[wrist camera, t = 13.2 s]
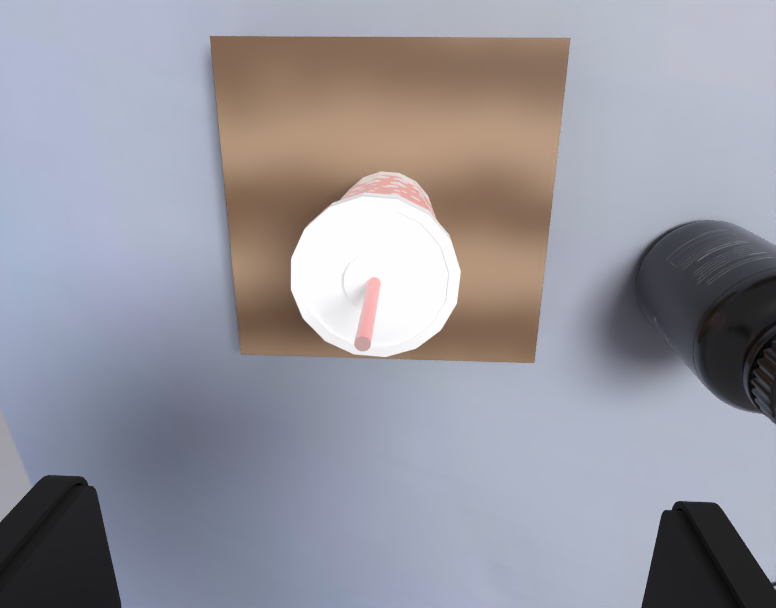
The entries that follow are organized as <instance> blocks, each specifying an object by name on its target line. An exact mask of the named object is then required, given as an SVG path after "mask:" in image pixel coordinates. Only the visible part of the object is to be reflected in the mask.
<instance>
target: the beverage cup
mask: <svg viewBox="0 0 776 608" xmlns="http://www.w3.org/2000/svg"><path fill="white" fill-rule="evenodd" d="M460 274H461V271H460V267H459V264H458V261H457V257H456V254H455V251H454V248H453V244H452V241H451V238H450V236H449V234H448V233H447V232H446V231H445V229H444V228H443V227H442V226H441V225H440V223H439V222H438V221H437V219H436V216H435V214H434V211H433V208H432V205H431V203H430V200H429V197H428V195H427V194H426V193H425V191H424V190H423V189H422V188H421V187H420V185H419V184H418V183H417V182H416V181H414V180H412V179H410V178H408V177H407V176H405V175H403V174H401V173H395V172H382V171H381V172H378V173H375V174H372V175H369V176H366V177H363V178H362V179H361V180H360V181H358V182H357V183H356V184H355V185H354V186H353V187H352V188H350V189H349V190H348V192H347V193H346V194H345V195H344V196H343V197H342V198H341V199H340V200H339V201H337V202H334V203H332V204H331V205H330V206H329V207H328V208H326V209H325V210H324V211H323V212H322V213H321V214H320V215H318V216H317V217H316V218H315V219H314V220H313V221H312V222H311V223H309V225H308V226H307V227H306V228H305V229H304V231H303V233H302V236H301V238H300V240H299V242H298V244H297V247H296V249H295V251H294V253H293V255H292V258H291V291H292V294H293V296H294V298H295V301H296V303H297V305H298V308H299V310H300V313H301V315H302V317H303V319H304V320H305V321H306V322H307V323H308V324H309V325H310V326H311V327H312V328H313V329H314V330H315V331H316V332H317V333H318V334H319V335H320V336H321V337H322V338H323V339H324V340H325V341H326V342H328V343H330V344H333V345H335V346H337V347H339V348H341V349H343V350H346V351H348V352H350V353H352V354H355V355H367V356H379V357H388V356H391V355H395V354H399V353H402V352H406V351H409V350H413V349H416V348H418V347H419V346H420V345H422V344H423V343H424V342H426V341H427V340H428V339H430V338H431V337H432V336H434V335H435V334H436V333H438V332H439V331H440V330H441V329H442V328H443V326H444V324H445V323H446V321H447V319H448V317H449V316H450V314H451V312H452V311H453V309H454V307H455V306H456V304H457V298H458V290H459V282H460Z"/></svg>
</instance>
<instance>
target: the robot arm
mask: <svg viewBox="0 0 776 608" xmlns="http://www.w3.org/2000/svg"><path fill="white" fill-rule="evenodd" d="M0 608H121V600H120V596H119V591H118V587H117V582H116V578H115V573H114V569H113V564H112V560H111V555H110V551H109V546H108V542H107V537H106V532H105V528H104V523H103V519H102V514H101V510H100V505H99V501H98V496H97V492H96V489H95V488H94V487H93V486H88V483H87V481H86V480H85V479H84V478H83V477H80V476H57V475H48V476H45V477H43V478H42V479H41V480H39V481H38V482H37V483H36V484H35V486H34V487H33V488H32V489H31V490H30V491H29V492H28V493H27V494H26V495H25V496H24V497H23V499H22V500H21V501H20V502H19V503H18V504H17V505H16V506H15V507H14V508H13V509H12V510H11V511H10V513H9V514H8V515H7V516H6V517H5V518H4V519H3V520H2V521H1V522H0ZM641 608H776V585H775V586H773V585H772V584H771V582H770V581H769V579H768V578H767V576H766V575H765V573H764V572H763V570H762V569H761V567H760V566H759V564H758V563H757V561H756V560H755V558H754V557H753V555H752V554H751V552H750V551H749V549H748V548H747V546H746V545H745V543H744V542H743V540H742V539H741V537H740V536H739V534H738V533H737V531H736V530H735V528H734V527H733V525H732V524H731V522H730V520H729V519H728V517H727V516H726V514H725V513H724V511H723V510H722V509H721V508H720V506H719V505H718V504H716V503H711V502H687V501H678V502H676V503H675V504H674V505H673V508H672V510H665V511H664V512H663V513H662V516H661V520H660V524H659V529H658V534H657V538H656V543H655V547H654V552H653V557H652V561H651V566H650V571H649V575H648V580H647V584H646V589H645V594H644V598H643V603H642V607H641Z"/></svg>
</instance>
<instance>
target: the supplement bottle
mask: <svg viewBox="0 0 776 608" xmlns="http://www.w3.org/2000/svg"><path fill="white" fill-rule="evenodd" d="M636 294H637V300H638V303H639V306H640V308H641V310H642V312H643V314H644V315H645V317H646V318H647V320H648V321H649V322H650V323H651V325H652V326H653V327H654V328H655V329H656V331H657V332H658V333H659V334H660V335H661V336H662V337H663V339H664V340H665V341H666V342H667V343H668V344H669V345H670V347H671V348H672V349H673V350H674V351H675V352H676V353H677V355H678V356H679V357H680V358H681V359H682V360H683V361H684V363H685V364H686V365H687V366H688V367H689V368H690V369H691V371H692V372H693V373H694V374H695V375H696V376H697V377H698V379H699V380H700V381H701V382H702V383H703V384H704V385H705V387H706V388H707V389H708V390H709V391H711V392H712V393H713V394H714V395H715V396H716V397H717V398H718V399H720V400H721V401H723V402H724V403H726V404H728V405H730V406H732V407H735V408H737V409H740V410H743V411H747V412H752V413H759V414H764V415H765V416H767V417H768V418H769V419H770V420H771V421H772V422H773V423H775V424H776V245H774V244H772V243H770V242H768V241H766V240H765V239H763V238H761V237H759V236H757V235H755V234H753V233H751V232H749V231H747V230H745V229H743V228H741V227H739V226H737V225H734V224H731V223H728V222H723V221H714V220H712V221H699V222H694V223H690V224H687V225H684V226H682V227H679V228H677V229H675V230H673V231H672V232H670V233H668V234H667V235H666V236H664V237H663V238H662V239H661V240H659V241H658V242H657V243H656V244H655V245H654V246H653V247H652V249H651V250H650V251H649V252H648V254H647V255H646V257H645V258H644V260H643V262H642V264H641V266H640V269H639V272H638V276H637V282H636Z"/></svg>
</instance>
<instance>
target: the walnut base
mask: <svg viewBox="0 0 776 608" xmlns="http://www.w3.org/2000/svg"><path fill="white" fill-rule="evenodd" d="M210 42H211V52H212V62H213V73H214V83H215V93H216V104H217V114H218V124H219V134H220V145H221V155H222V165H223V175H224V186H225V196H226V206H227V216H228V227H229V237H230V247H231V257H232V268H233V278H234V288H235V299H236V309H237V319H238V329H239V340H240V350H241V354H250V355H283V356H316V357H350V358H383V359H416V360H450V361H483V362H517V363H534V361H535V352H536V343H537V334H538V325H539V316H540V307H541V298H542V289H543V280H544V271H545V262H546V253H547V244H548V235H549V226H550V217H551V208H552V199H553V190H554V181H555V172H556V163H557V154H558V145H559V136H560V127H561V118H562V109H563V100H564V91H565V82H566V73H567V64H568V55H569V46H570V38H463V37H260V36H210ZM381 171H382V172H395V173H401V174H403V175H405V176H407V177H408V178H410V179H412V180H414V181H416V182H417V183H418V184H419V185H420V187H421V188H422V189H423V190H424V191H425V193H426V194H427V195H428V197H429V200H430V203H431V205H432V208H433V211H434V214H435V216H436V219H437V221H438V222H439V223H440V225H441V226H442V227H443V228H444V229H445V231H446V232H447V233H448V234H449V236H450V238H451V241H452V244H453V248H454V251H455V254H456V257H457V261H458V264H459V267H460V271H461V274H460V282H459V290H458V298H457V304H456V306H455V307H454V309H453V311H452V312H451V314H450V316H449V317H448V319H447V321H446V323H445V324H444V326H443V328H442V329H441V330H440V331H439V332H438V333H436V334H435V335H434V336H432V337H431V338H430V339H428V340H427V341H426V342H424V343H423V344H422V345H420V346H419V347H418V348H416V349H413V350H409V351H406V352H402V353H399V354H395V355H391V356H388V357H379V356H367V355H355V354H352V353H350V352H348V351H346V350H343V349H341V348H339V347H337V346H335V345H333V344H330V343H328V342H326V341H325V340H324V339H323V338H322V337H321V336H320V335H319V334H318V333H317V332H316V331H315V330H314V329H313V328H312V327H311V326H310V325H309V324H308V323H307V322H306V321H305V320H304V319H303V317H302V315H301V313H300V310H299V308H298V305H297V303H296V301H295V298H294V296H293V294H292V291H291V258H292V255H293V253H294V251H295V249H296V247H297V244H298V242H299V240H300V238H301V236H302V233H303V231H304V229H305V228H306V227H307V226H308V225H309V223H311V222H312V221H313V220H314V219H315V218H316V217H317V216H318V215H320V214H321V213H322V212H323V211H324V210H325V209H326V208H328V207H329V206H330V205H331V204H332V203H334V202H337V201H339V200H340V199H341V198H342V197H343V196H344V195H345V194H346V193H347V192H348V190H349V189H350V188H352V187H353V186H354V185H355V184H356V183H357V182H358V181H360V180H361V179H362V178H363V177H366V176H369V175H372V174H375V173H378V172H381Z"/></svg>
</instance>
